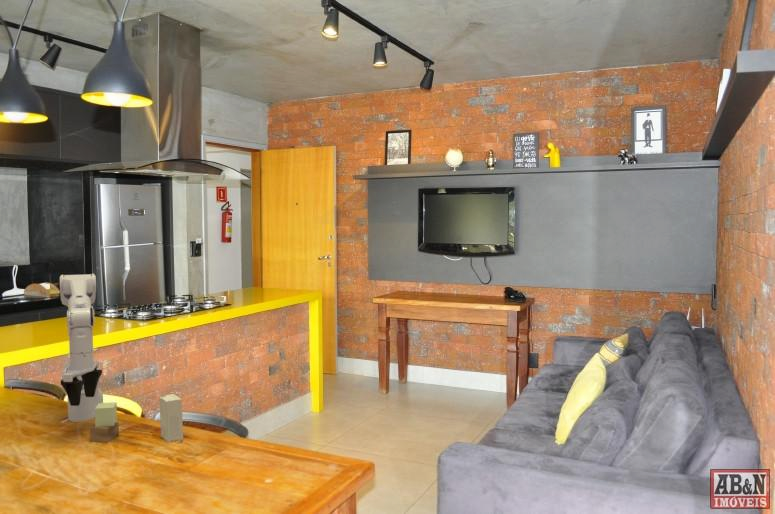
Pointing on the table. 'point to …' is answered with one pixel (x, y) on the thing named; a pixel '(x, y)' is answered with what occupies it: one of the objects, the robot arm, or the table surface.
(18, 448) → the table surface
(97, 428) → the walnut block
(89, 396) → the robot arm
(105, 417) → the sage block
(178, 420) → the skincare box
